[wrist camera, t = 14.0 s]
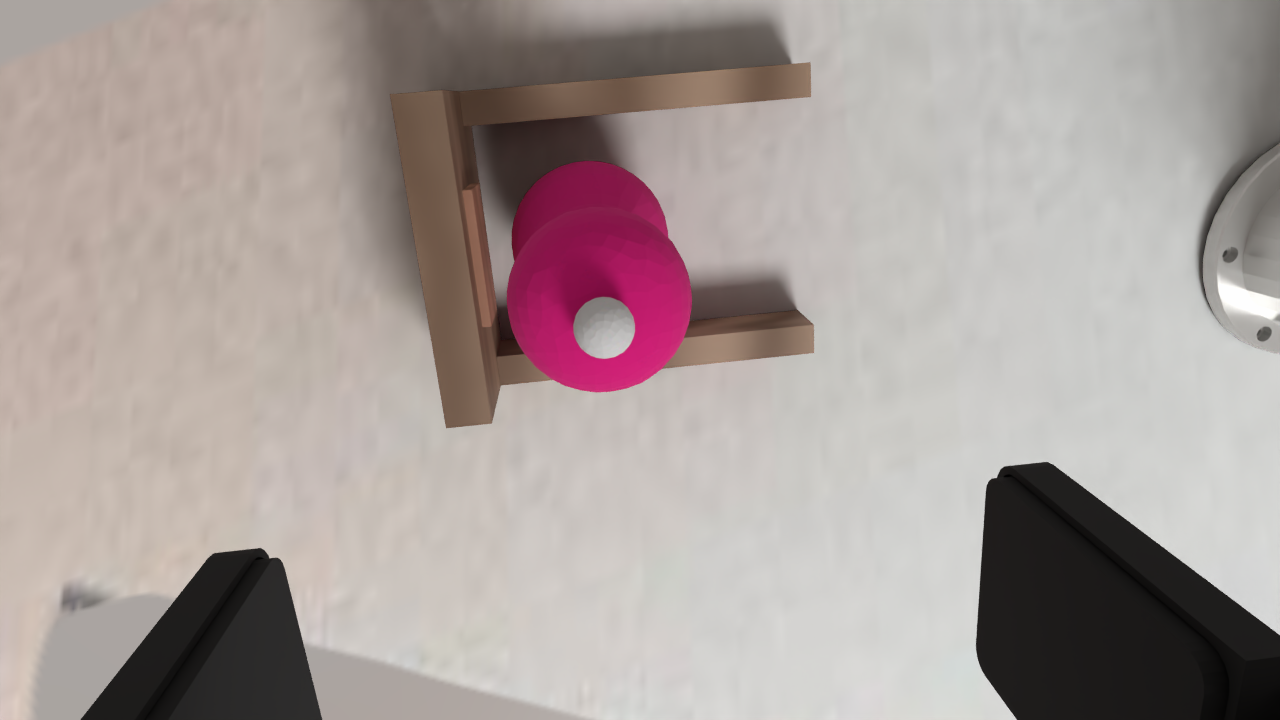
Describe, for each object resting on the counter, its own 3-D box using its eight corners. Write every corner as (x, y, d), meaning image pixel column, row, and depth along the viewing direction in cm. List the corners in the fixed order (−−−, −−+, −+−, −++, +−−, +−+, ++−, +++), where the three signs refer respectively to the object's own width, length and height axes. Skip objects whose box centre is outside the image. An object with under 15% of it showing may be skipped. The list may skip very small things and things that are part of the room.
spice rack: (793, 65, 40) (846, 56, 32) (798, 336, 44) (846, 385, 36) (424, 95, 39) (389, 94, 31) (467, 370, 43) (446, 428, 35)
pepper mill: (504, 167, 40) (445, 228, 21) (646, 144, 40) (717, 183, 21) (532, 306, 42) (503, 475, 23) (667, 283, 42) (748, 432, 23)
